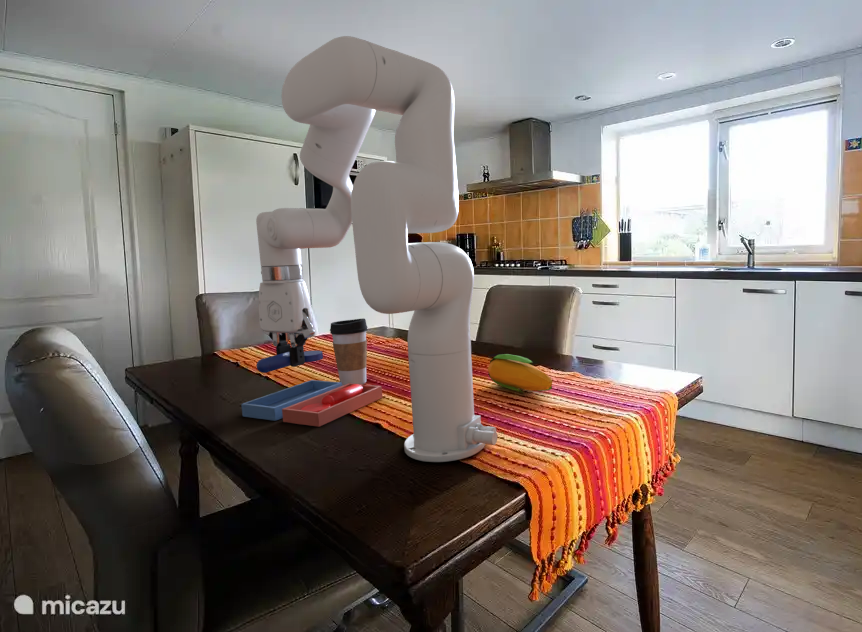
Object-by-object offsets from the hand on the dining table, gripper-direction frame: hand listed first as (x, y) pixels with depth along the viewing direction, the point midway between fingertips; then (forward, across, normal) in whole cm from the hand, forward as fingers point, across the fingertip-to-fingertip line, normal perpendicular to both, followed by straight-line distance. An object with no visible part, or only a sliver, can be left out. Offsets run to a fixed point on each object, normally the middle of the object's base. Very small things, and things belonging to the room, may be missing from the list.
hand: (291, 364), depth 104 cm
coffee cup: (+9, +1, +17) cm, 19 cm away
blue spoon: (0, 0, 0) cm, 0 cm away
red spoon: (+8, +11, 0) cm, 13 cm away
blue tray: (+8, 0, 0) cm, 8 cm away
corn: (+8, +42, +22) cm, 48 cm away
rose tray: (+8, +11, 0) cm, 14 cm away
